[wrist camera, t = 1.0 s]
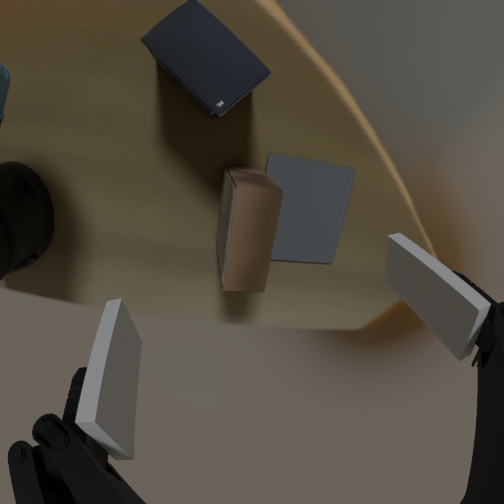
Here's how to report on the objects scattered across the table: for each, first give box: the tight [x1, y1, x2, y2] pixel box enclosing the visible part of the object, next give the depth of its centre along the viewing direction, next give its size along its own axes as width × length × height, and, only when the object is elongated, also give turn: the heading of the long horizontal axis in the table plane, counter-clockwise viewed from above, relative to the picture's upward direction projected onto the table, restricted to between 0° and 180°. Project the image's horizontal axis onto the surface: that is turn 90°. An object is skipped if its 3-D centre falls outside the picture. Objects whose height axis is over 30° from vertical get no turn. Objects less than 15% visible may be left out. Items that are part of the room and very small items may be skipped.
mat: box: [265, 153, 356, 263], centre depth 39 cm, size 12×14×1 cm
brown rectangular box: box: [216, 164, 284, 292], centre depth 32 cm, size 4×10×12 cm, turn 172°
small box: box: [140, 0, 272, 118], centre depth 25 cm, size 11×6×10 cm, turn 42°
